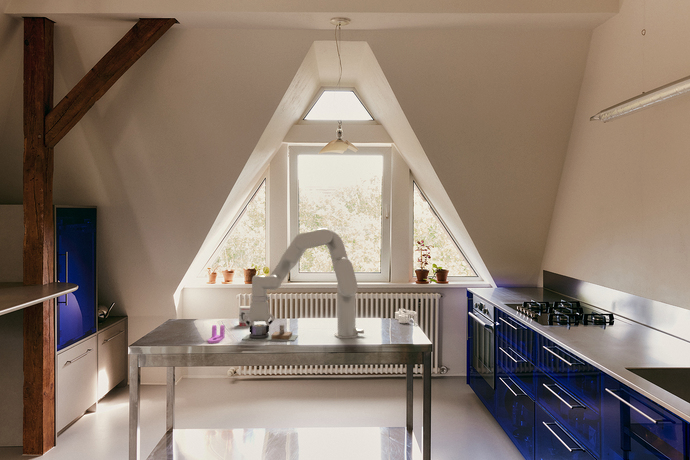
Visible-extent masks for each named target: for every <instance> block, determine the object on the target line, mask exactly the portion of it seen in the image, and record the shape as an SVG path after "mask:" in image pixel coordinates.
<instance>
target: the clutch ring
mask: <svg viewBox="0 0 690 460" xmlns="http://www.w3.org/2000/svg"><path fill="white" fill-rule="evenodd" d="M257 325H262V326H259V327H257ZM266 326H267V324H254V325H253V326H252V334H254V335H264V334H266Z"/></svg>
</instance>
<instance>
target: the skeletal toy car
mask: <svg viewBox="0 0 690 460" xmlns="http://www.w3.org/2000/svg"><path fill="white" fill-rule="evenodd" d="M411 316H413V325H416V324H417V322H418V321H417V320H418V319H417V317H418V313H417V311H414V310H410V309H405V308H398V311H395V312H394V319H395V320H398V323H400V324H407V323H409V322H410V321H411Z"/></svg>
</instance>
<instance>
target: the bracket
mask: <svg viewBox="0 0 690 460" xmlns="http://www.w3.org/2000/svg"><path fill="white" fill-rule="evenodd" d="M225 331H226V330H225V325H224V324H221V325H220V328H219V335H218V334H217V332H218V331H217V325H216V324H213V325H212V327H211V337H210V338H209V339H207V343H208V344H218V343H220V342H221V341H223V340H224V339H225V334H226V333H225Z"/></svg>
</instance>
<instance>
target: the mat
mask: <svg viewBox="0 0 690 460" xmlns="http://www.w3.org/2000/svg"><path fill="white" fill-rule="evenodd" d="M271 335H272V334H269V337H268V338H265V339H251V338H249V334H246V335H245V336H243V338H241V341H257V342H258V341H263V342H264V341H268V342H273V341H274V342H295V341H296V340H297V338H298V337H299V335H296V334H295V335H293V334H292V336H291V338H290V339H271Z"/></svg>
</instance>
